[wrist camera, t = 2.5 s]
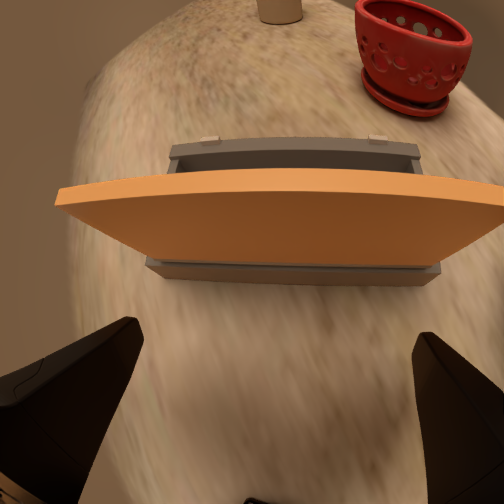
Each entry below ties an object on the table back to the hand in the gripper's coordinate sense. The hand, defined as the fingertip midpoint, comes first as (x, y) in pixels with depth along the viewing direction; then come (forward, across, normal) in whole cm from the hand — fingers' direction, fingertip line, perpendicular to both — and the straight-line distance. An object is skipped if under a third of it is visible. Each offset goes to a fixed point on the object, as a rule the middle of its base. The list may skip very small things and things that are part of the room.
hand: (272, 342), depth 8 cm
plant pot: (+30, -14, -11) cm, 35 cm away
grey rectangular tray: (+17, 0, +2) cm, 17 cm away
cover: (+7, 0, -1) cm, 7 cm away
